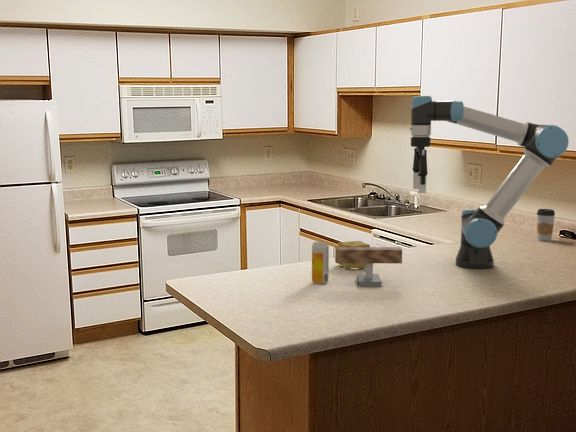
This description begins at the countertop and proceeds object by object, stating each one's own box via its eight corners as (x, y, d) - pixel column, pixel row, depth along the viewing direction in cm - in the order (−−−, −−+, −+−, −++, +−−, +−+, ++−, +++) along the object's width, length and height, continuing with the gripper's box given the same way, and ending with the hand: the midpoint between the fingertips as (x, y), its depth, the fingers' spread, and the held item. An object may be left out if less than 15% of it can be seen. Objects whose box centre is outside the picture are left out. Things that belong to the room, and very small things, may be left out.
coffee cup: (534, 241, 333) (535, 210, 331) (536, 238, 341) (538, 208, 338) (552, 242, 329) (554, 211, 327) (554, 239, 337) (556, 209, 334)
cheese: (345, 270, 273) (346, 245, 272) (336, 264, 283) (337, 241, 282) (370, 268, 276) (370, 244, 274) (360, 263, 286) (360, 239, 285)
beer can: (318, 280, 258) (318, 240, 255) (331, 282, 254) (331, 242, 251) (308, 283, 253) (308, 243, 251) (321, 285, 249) (322, 245, 247)
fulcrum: (378, 279, 259) (378, 258, 257) (381, 287, 247) (381, 265, 246) (357, 279, 259) (357, 258, 258) (359, 287, 247) (359, 265, 246)
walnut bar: (400, 260, 254) (400, 247, 253) (401, 263, 249) (402, 249, 248) (335, 260, 254) (335, 247, 254) (335, 263, 249) (335, 249, 249)
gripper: (406, 135, 277) (405, 187, 281) (415, 137, 253) (414, 194, 256) (425, 135, 277) (423, 187, 280) (436, 137, 253) (434, 194, 256)
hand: (419, 191), depth 268 cm, fingers open, 13 cm apart
